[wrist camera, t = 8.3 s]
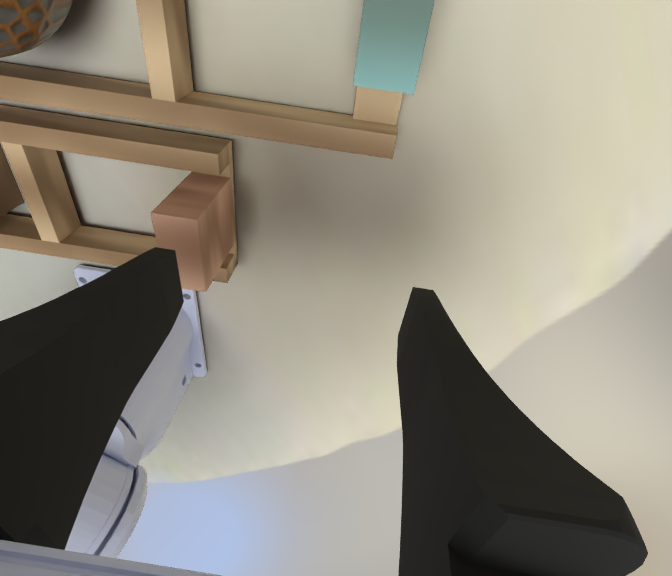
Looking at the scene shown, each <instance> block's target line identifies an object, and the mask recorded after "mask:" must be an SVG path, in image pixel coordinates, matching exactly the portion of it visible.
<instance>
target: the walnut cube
mask: <svg viewBox="0 0 672 576" xmlns="http://www.w3.org/2000/svg"><path fill="white" fill-rule="evenodd" d="M23 202H24V200H23V197H22V195H21V192H20V190H19V188H18V185H17V183H16V180H15V178H14V176H13V173H12V171H11V169H10V166H9V164H8V161H7V159H6V157H5V154H4V152H3V149H2V147H1V145H0V217H1V216H2V215H4V214H6V213H7V212H9V211H10V210H12V209H14V208H15V207H17V206H19V205H20V204H22V203H23Z"/></svg>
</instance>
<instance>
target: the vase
mask: <svg viewBox="0 0 672 576" xmlns="http://www.w3.org/2000/svg"><path fill="white" fill-rule="evenodd" d="M72 1H73V0H0V57H6V56H11V55H15V54H18V53H22V52H25V51H27V50H30V49H32V48H35V47H37V46H38V45H40V44H42V43H43V42H44V41H46V40H47V39H49V38H50V37H51V36H52V35H53V34H54V33H55V32H56V31H57V30H58V29H59V28H60V26H61V25H62V24H63V22H64V20H65V19H66V17H67V15H68V13H69V10H70V8H71V5H72Z"/></svg>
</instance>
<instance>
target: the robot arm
mask: <svg viewBox="0 0 672 576" xmlns="http://www.w3.org/2000/svg"><path fill="white" fill-rule="evenodd" d="M74 275H75V277H76V280H77V283H78V285H79V287H78V288H76V289H74V290H72V291H70V292H68V293H66V294H64V295H62V296H60V297H58V298H56V299H54V300H52V301H50V302H47V303H45V304H43V305H40V306H38V307H36V308H33V309H31V310H28V311H26V312H23V313H21V314H18V315H16V316H13V317H11V318H8V319H5V320H2V321H0V576H221V575H215V574H209V573H202V572H196V571H190V570H184V569H177V568H172V567H166V566H159V565H153V564H147V563H140V562H134V561H128V560H122V559H116V558H117V556H118V555H119V553H120V552H121V550H122V549H123V547H124V546H125V544H126V542H127V541H128V539H129V537H130V536H131V534H132V532H133V530H134V528H135V526H136V524H137V522H138V519H139V517H140V515H141V512H142V510H143V507H144V503H145V500H146V495H147V473H146V470H145V469H144V468H143V467H142V466H140V465H138V463H139V461H140V460H141V459H142V458H144V457H145V456H146V455H148V454H149V453H150V452H151V451H152V450H153V449H154V448H155V447H156V446H157V445H158V443H159V442H160V440H161V439H162V437H163V435H164V433H165V431H166V429H167V427H168V425H169V423H170V421H171V419H172V417H173V415H174V413H175V411H176V409H177V407H178V405H179V403H180V400H181V398H182V396H183V394H184V392H185V390H186V388H187V386H188V384H189V382H190V380H191V378H192V376H196V377H204V376H205V375H206V373H207V368H206V361H205V353H204V346H203V339H202V332H201V325H200V318H199V311H198V304H197V296H196V291H194V290H188V289H182V287H181V281H180V275H179V269H178V263H177V257H176V252H175V250H171V249H165V248H158V247H154V248H152V249H150V250H148V251H146V252H144V253H142V254H140V255H139V256H137V257H135V258H133V259H131V260H129V261H128V262H126V263H124V264H122V265H120V266H118V267H117V268H115V269H113V270H109V269H103V268H96V267H90V266H83V265H79V266H77V267H76V268H75V269H74ZM187 294H189V295H190V296H188V295H187ZM397 372H398V384H399V396H400V407H401V419H402V430H403V484H402V485H403V486H402V517H401V540H400V559H399V576H626V575H627V574H629V573H631V572H633V571H635V570H636V569H637V568H639V567H640V566H641V565H642V564H643V562H644V561H645V559H646V557H647V554H648V552H647V549H646V546H645V543H644V541H643V539H642V537H641V534H640V532H639V530H638V528H637V525H636V523H635V521H634V519H633V517H632V515H631V512H630V511H629V508H628V507H627V504H626V503H625V501H624V499H623V497H622V496H620V495H619V494H618V493H616V492H615V491H614V490H612V489H611V488H610V487H609V486H607V485H606V484H605V483H603V482H602V481H601V480H600V479H598V478H597V477H596V476H594V475H593V474H592V473H591V472H589V471H588V470H587V469H585V468H584V467H583V466H581V465H580V464H579V463H578V462H577V461H575V460H574V459H573V458H572V457H571V456H569V455H568V454H567V453H566V452H565V451H564V450H563V449H561V448H560V447H559V446H558V445H557V444H556V443H554V442H553V441H552V440H551V439H550V438H549V437H548V436H547V435H545V434H544V433H543V432H542V431H541V430H540V429H539V428H538V427H537V426H536V425H535V424H534V423H533V422H532V421H531V420H530V419H529V418H528V417H527V416H526V415H525V414H524V413H523V412H521V411H520V409H519V408H518V407H517V406H516V405H515V404H514V403H513V402H512V401H511V400H510V399H509V398H508V397H507V395H506V394H505V393H504V392H503V391H502V390H501V389H500V388H499V386H498V385H497V384H496V383H495V382H494V381H493V380H492V378H491V377H490V376H489V375H488V373H487V372H486V371H485V370H484V368H483V367H482V366H481V364H480V363H479V362H478V360H477V359H476V357H475V356H474V355H473V353H472V352H471V350H470V349H469V348H468V346H467V345H466V343H465V342H464V340H463V338H462V337H461V335H460V334H459V332H458V331H457V329H456V328H455V326H454V324H453V323H452V321H451V319H450V318H449V316H448V314H447V313H446V311H445V309H444V308H443V306H442V304H441V302H440V301H439V299H438V297H437V295H436V294H435V292H434V291H433V290H428V289H422V288H415V287H413V289H412V292H411V295H410V298H409V302H408V305H407V308H406V311H405V315H404V318H403V321H402V324H401V328H400V331H399V334H398V349H397Z"/></svg>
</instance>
